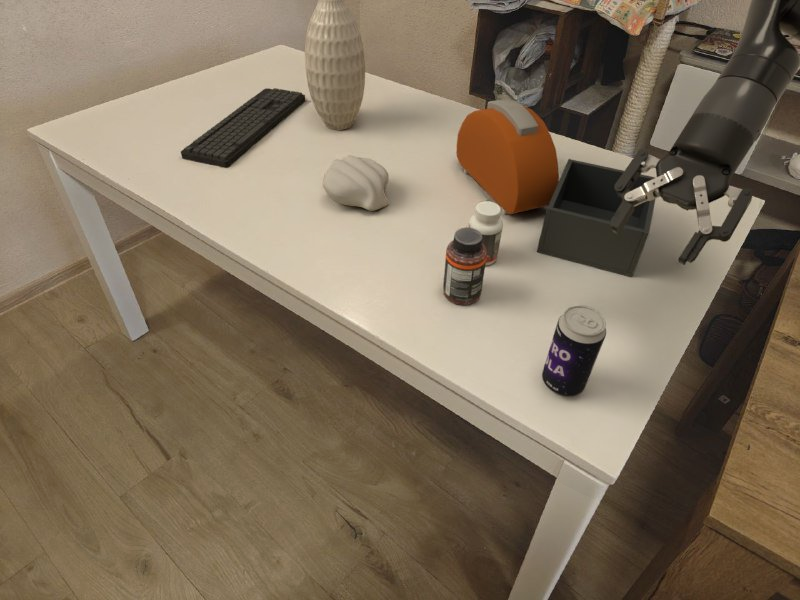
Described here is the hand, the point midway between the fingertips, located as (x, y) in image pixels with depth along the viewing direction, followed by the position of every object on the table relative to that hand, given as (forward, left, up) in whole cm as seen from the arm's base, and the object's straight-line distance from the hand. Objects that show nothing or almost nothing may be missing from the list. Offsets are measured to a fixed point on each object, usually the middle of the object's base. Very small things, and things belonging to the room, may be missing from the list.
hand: (646, 247), depth 66 cm
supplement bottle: (+22, -1, -17) cm, 28 cm away
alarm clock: (+26, -33, -17) cm, 45 cm away
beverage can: (+4, +10, -17) cm, 21 cm away
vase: (+67, -44, -17) cm, 82 cm away
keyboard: (+85, -34, -17) cm, 93 cm away
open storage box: (+6, -25, -17) cm, 31 cm away
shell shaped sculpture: (+49, -18, -17) cm, 55 cm away
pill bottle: (+22, -11, -17) cm, 30 cm away
